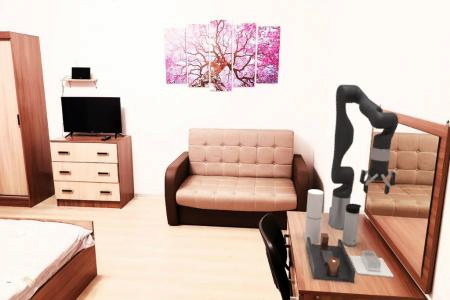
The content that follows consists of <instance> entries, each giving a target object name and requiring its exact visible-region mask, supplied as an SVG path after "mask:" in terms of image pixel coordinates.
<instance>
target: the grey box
mask: <svg viewBox="0 0 450 300" xmlns="http://www.w3.org/2000/svg"><path fill="white" fill-rule="evenodd" d="M378 258H379V257H378V255H377V253H376V252H375V251H373V250H367V249H365V250H362V251H361V260H362V262H363V264H364V266H365V267H366V269H367V271H377V272H380V267H381V262H380V260H379V259H378Z"/></svg>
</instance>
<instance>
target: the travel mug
mask: <svg viewBox="0 0 450 300" xmlns="http://www.w3.org/2000/svg"><path fill="white" fill-rule="evenodd" d="M361 208H362V205H361V204H358V203H350V204H347V205H346V212H345V220H344V229H342V230H343V233H342V240H341V241H342V243H343V245H344V246H347V247H355V246H356V245H357V238H358V229H359V222H360V221H359V220H360V213H361V212H360V210H361Z"/></svg>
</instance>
